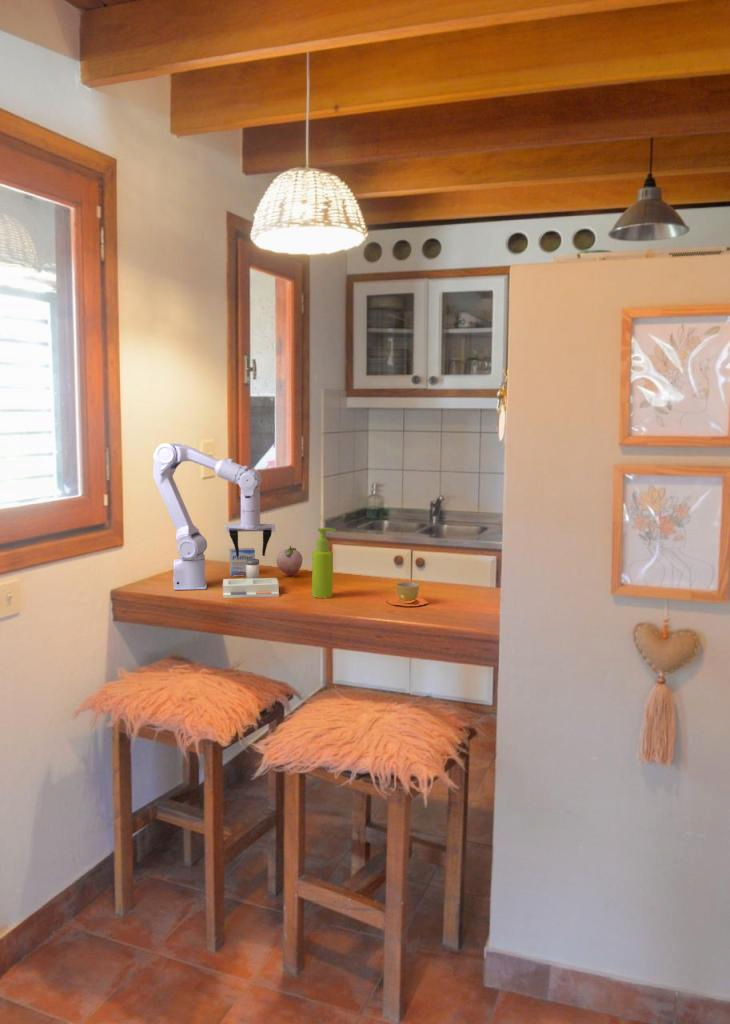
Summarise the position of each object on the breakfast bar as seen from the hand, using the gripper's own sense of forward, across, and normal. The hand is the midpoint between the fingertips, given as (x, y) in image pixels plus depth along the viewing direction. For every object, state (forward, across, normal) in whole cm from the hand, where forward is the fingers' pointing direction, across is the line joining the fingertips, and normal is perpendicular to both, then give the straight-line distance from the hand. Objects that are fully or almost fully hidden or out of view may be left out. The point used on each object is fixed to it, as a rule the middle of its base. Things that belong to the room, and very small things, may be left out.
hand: (250, 555), depth 234 cm
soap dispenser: (+10, +21, -11) cm, 26 cm away
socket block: (+10, 0, -4) cm, 11 cm away
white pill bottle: (+10, +1, +10) cm, 15 cm away
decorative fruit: (+11, +13, +17) cm, 24 cm away
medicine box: (+11, -2, +21) cm, 24 cm away
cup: (+11, +44, -20) cm, 49 cm away
